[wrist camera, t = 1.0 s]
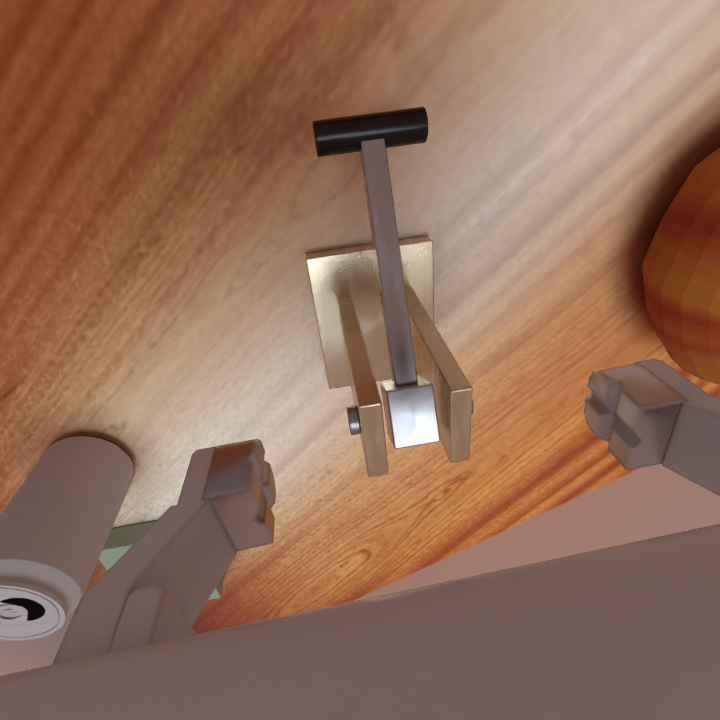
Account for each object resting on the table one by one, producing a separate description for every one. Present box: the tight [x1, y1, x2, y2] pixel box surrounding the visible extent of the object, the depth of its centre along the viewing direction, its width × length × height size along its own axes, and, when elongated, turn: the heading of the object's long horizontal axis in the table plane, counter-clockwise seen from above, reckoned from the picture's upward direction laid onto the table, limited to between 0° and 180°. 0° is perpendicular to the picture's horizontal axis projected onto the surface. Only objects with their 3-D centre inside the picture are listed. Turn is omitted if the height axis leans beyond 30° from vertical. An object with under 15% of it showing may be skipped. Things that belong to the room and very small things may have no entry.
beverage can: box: [0, 436, 134, 641], centre depth 29 cm, size 6×6×12 cm
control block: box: [99, 521, 224, 600], centre depth 39 cm, size 10×8×4 cm
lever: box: [313, 107, 440, 449], centre depth 20 cm, size 15×5×2 cm, turn 6°
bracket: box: [306, 236, 473, 477], centre depth 25 cm, size 10×8×13 cm
